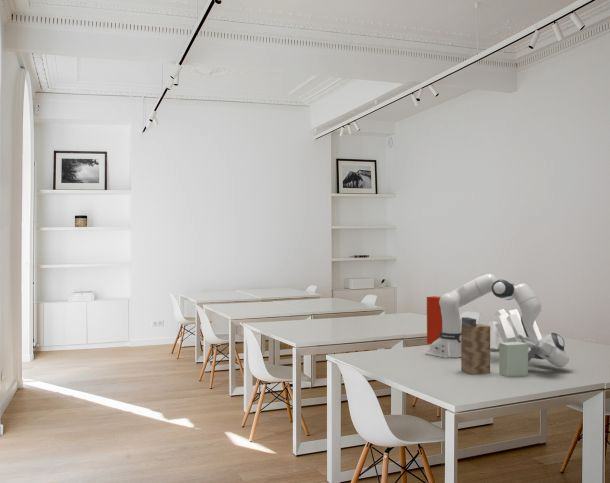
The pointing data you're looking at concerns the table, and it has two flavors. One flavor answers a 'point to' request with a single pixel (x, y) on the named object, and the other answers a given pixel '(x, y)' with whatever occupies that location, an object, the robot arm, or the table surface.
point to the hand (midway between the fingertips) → (524, 337)
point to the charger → (532, 353)
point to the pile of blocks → (508, 328)
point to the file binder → (433, 319)
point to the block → (513, 359)
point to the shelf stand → (475, 347)
